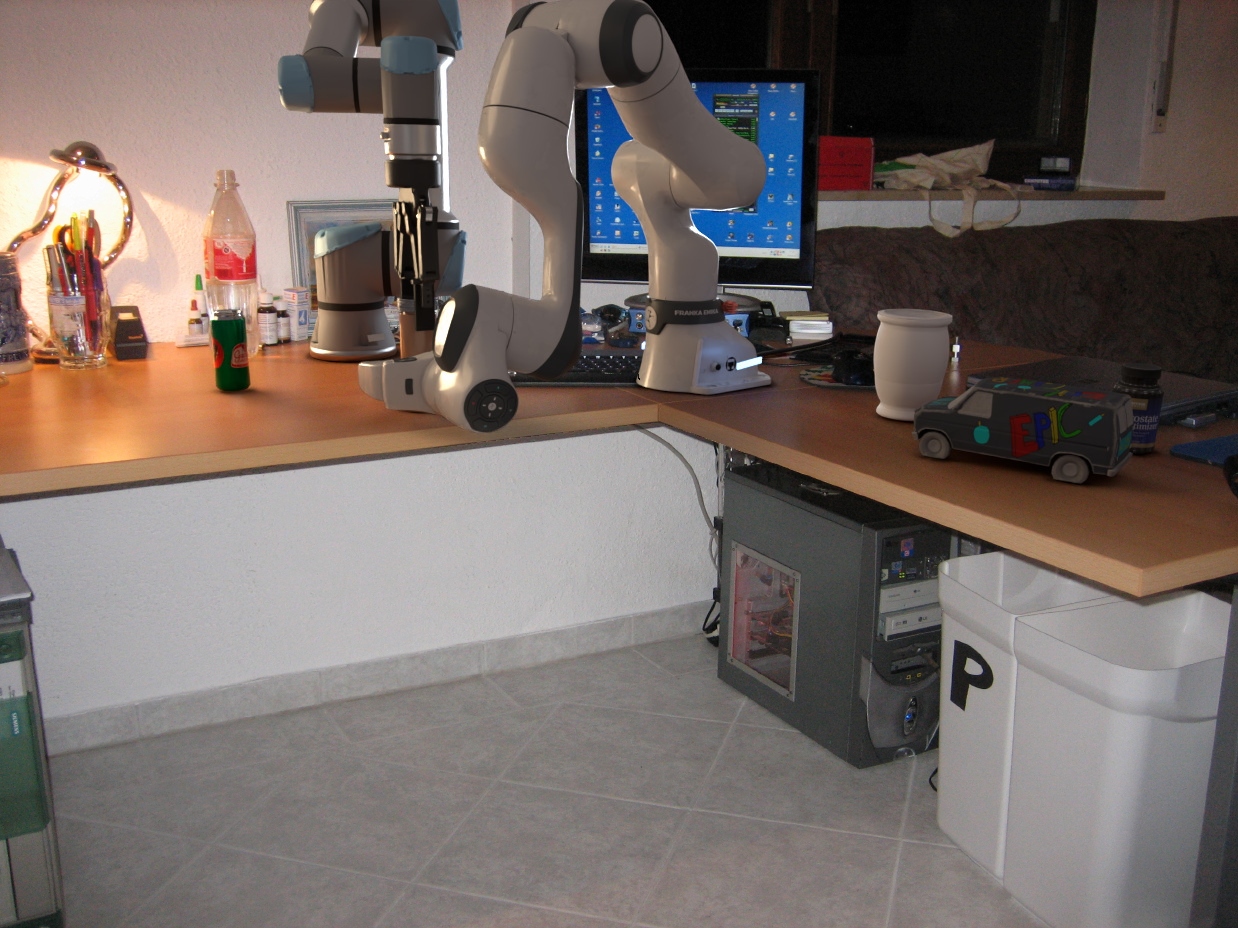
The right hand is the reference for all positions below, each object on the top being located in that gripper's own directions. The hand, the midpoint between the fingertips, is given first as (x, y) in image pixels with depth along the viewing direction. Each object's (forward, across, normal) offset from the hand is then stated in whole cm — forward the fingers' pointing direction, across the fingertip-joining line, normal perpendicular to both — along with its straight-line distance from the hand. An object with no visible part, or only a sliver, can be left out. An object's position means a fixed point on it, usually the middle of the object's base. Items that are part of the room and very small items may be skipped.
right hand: (417, 363), depth 155 cm
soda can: (+22, +22, +6) cm, 32 cm away
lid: (-1, 0, -9) cm, 9 cm away
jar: (-34, -63, +6) cm, 72 cm away
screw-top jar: (-1, 0, +6) cm, 7 cm away
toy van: (-58, -59, +6) cm, 83 cm away
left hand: (-1, 0, -5) cm, 5 cm away
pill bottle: (-60, -78, +6) cm, 98 cm away
